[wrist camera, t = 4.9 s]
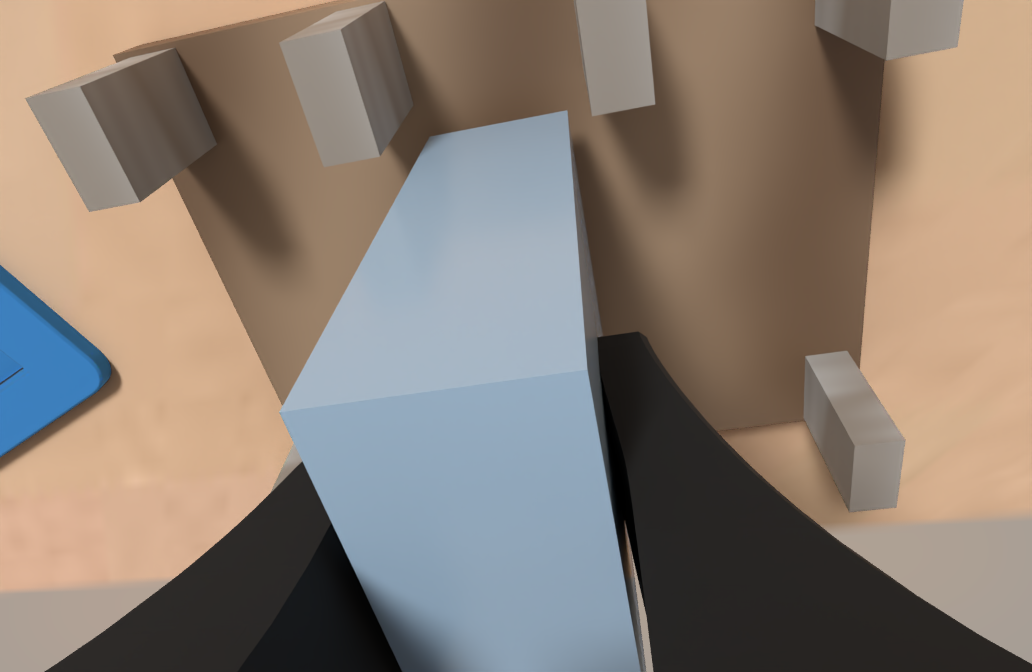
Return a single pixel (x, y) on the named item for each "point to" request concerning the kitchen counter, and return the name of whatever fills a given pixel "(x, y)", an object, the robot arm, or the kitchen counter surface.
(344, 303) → the slate-blue tile
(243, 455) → the kitchen counter surface
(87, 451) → the kitchen counter surface
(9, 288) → the handheld gaming device
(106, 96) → the walnut rack
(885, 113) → the kitchen counter surface
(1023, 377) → the kitchen counter surface
